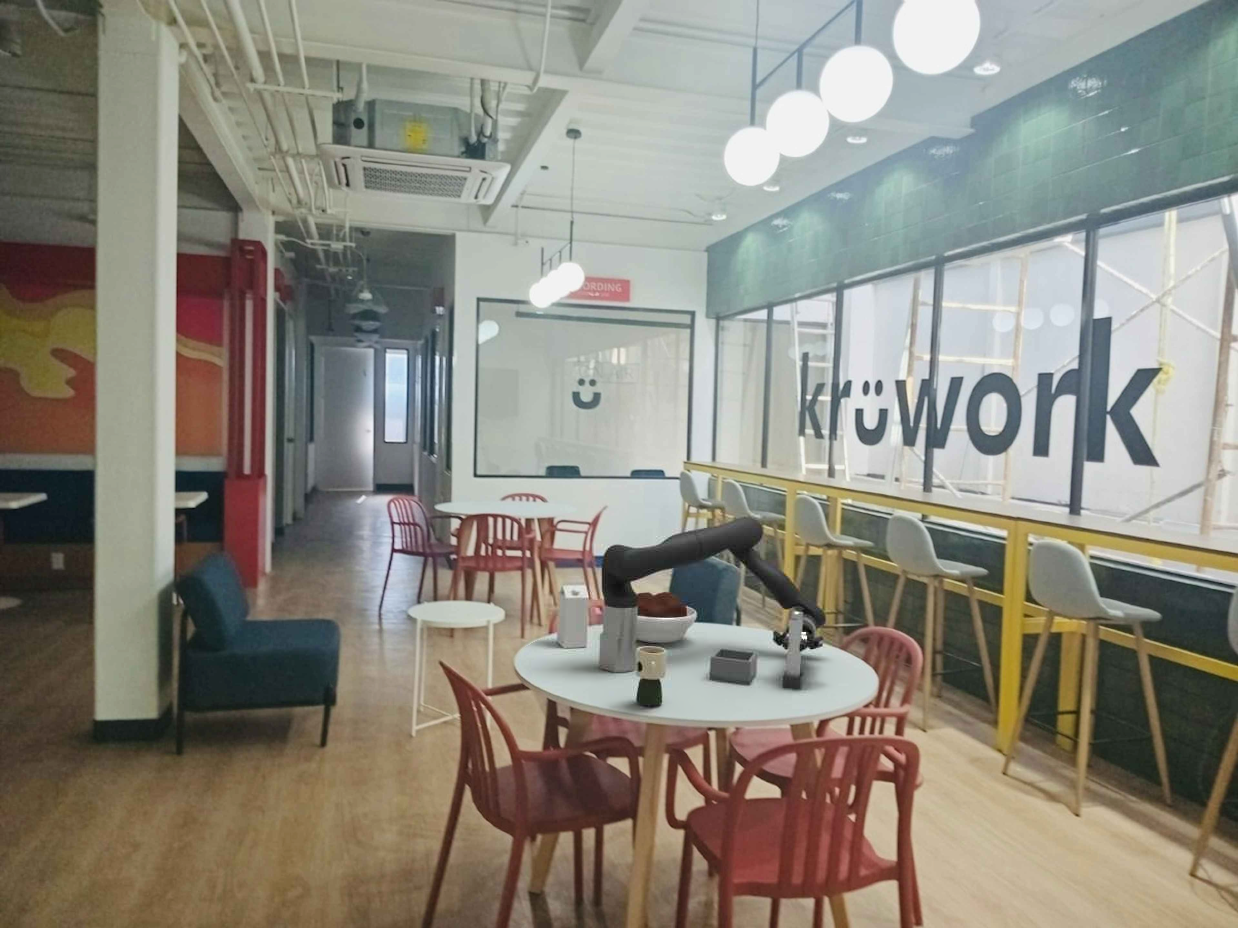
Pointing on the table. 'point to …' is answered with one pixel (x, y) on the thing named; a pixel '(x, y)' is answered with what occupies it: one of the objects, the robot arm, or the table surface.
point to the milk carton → (573, 615)
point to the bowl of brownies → (662, 618)
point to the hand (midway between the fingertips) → (793, 646)
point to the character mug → (650, 674)
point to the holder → (733, 666)
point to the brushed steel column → (794, 652)
